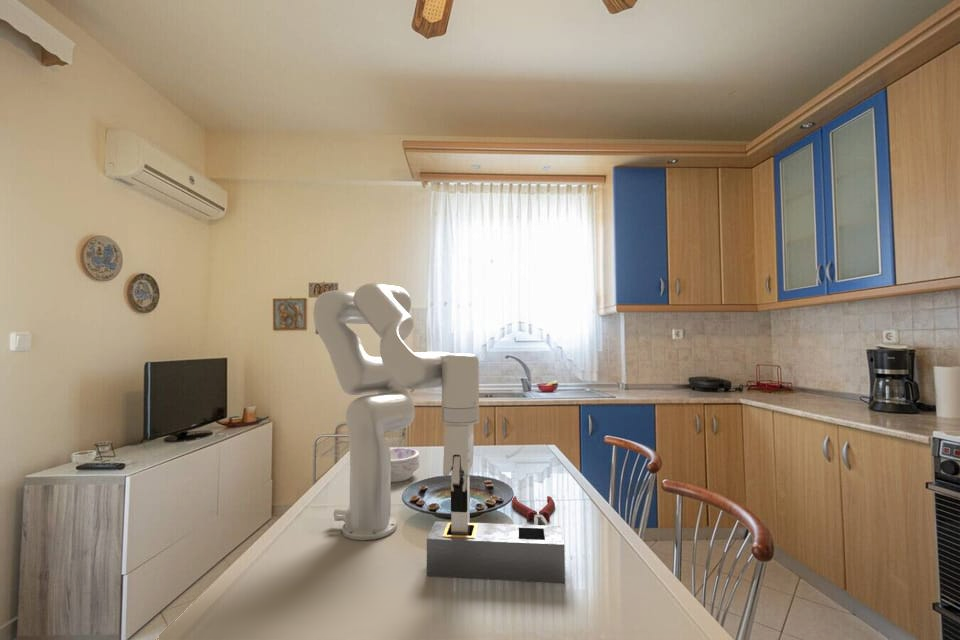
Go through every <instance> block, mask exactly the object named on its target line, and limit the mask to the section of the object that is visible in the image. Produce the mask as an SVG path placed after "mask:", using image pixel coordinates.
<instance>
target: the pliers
mask: <svg viewBox="0 0 960 640" xmlns="http://www.w3.org/2000/svg"><path fill="white" fill-rule="evenodd" d="M513 497H514V498H513ZM513 497H512V498H513V500H512V499H511V505H512V508H513V510H514V511H516V512H517V513H519V514H521V515H522V516H524V517H526V518H525V519H526V522H533V525H547V526H549V525H548V522H550V520H551V513H552V512H554V510H555V506H556V505H555V501H554V500H553V498H552V497H551V496H549V495H547V497H546V501H547V503H546V505H545V506H544V507H542V509H540V510H539V511H536V510H535V509H532V508H530V507H529V506H527V505H525V504H523V503H521V502H520V501H519V500H518V499H517V496H516V495H514V496H513Z"/></svg>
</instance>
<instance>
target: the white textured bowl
mask: <svg viewBox="0 0 960 640" xmlns="http://www.w3.org/2000/svg"><path fill="white" fill-rule="evenodd" d="M390 453H391V483H398V482H404V481H407V480H409V479H411V478H412V476H413V474H414V473H415V472H416V471H417V470H418V469H419V468H420V465H421V464H420V452H419V450H417V449H414V448H410V447H409V448H406V447H397V448H396V447H394V448H390Z"/></svg>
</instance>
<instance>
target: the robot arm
mask: <svg viewBox="0 0 960 640" xmlns="http://www.w3.org/2000/svg"><path fill="white" fill-rule="evenodd" d="M411 307H412V299H411V296H410V295H409V293H408V291H406V290H405V289H404V288H403V287H401V286H399V285H391V284H390V285H389V284H383V283H376V282H375V283H366V284H363V285H360V287H358V288H357V289H356V290H355V291H353V290H352V291H351V290H341V289H339V290H338V289H337V290H336V289H335V290H328V291H325V292H322V293H321V294H319V295H318V297H316V300H315V302H314V306H313V314H312V315H313V322H314V323H313V324H314V326H315V328H316V332H317V333H318V335H319V338H320V339H321V342H322V343H323V344H324V346H325V348H326V350H327V352H328V355H329V358H330V360H331V363H332V367H333V369H334V372H335V374H336V378H337V380H338V382H339V385H340V387H341V390H342V391H343V392H344V393H345V394H347V395H351V396H360V395H363V396H360V397H357V398H355V399H354V400H353V401H350V403H349V404H348V405H347V408H346V411H345V422H346V428H347V433H348V439H349V441H348V443H349V507H347V509H344V508H334V511H333V518H334V521H335V522H339V521H340V522H342V521H343V522H344V523H343V525H342V529H341V530H342V534H343V536H345V538H348V539H350V540H355V541H371V540H377V539H380V538H385V537H387V536H389V535H391V534H392V533H394V532H395V530H396V529H397V527H398V520H397V519H396V517H394V516H393V515H391V509H392V507H391V505H392V504H391V500H392V499H391V495H392V494H391V493H392V492H391V483H392V482H391V453H390V449H391V448H390V446H389V444H388V442H387V440H386V439H385V437H384V434H386V433H390V432H395V431H399V430H402V429H403V430H404V429H405V428H407V427H409V426H411V424H412V423H413V421H414V419H415V415H416V411H415V410H416V409H415V403H414V400H413V397H412V395H411V393H410V390H412V391H413V390H415V391H416V390H422V389H431V388H440V387H441V424H443V425H445V431H444V440H443V441H444V443H443V445H444V446H443V465H442V466H443V468H442V469H443V470H442V473H443V474H442V475H443V476H444V477H448V476H449V475H450V473H451V476H450V477H451V480H450V481H451V482H450V483H451V484H450V487H451V489H450V511H452V512H467V491H466V476H468V474H469V475H470V473H471V469H472V468H473V465H474V464H473V463H474V439H475V438H474V434H475V433H474V432H475V431H474V425H477V424H479V423H480V384H479V383H480V365H479V364H480V362H479V358H478V356H477V355H476V354H473V353H452V352H451V353H450V352H447V351H425V352H424V351H421V352H419V351H418V352H413V351H412V350H411V349H410V348H409V347H408V346H407V344H406V343H405V342H404V341H405V340H406V339H407V338H408V337H409V335H410V334H411V333H412V331H413V328H414V319H413V317H412V316H411V314H409V313H410V311H411ZM347 324H354V325H355V324H358V325H359V324H361V325H370V327H371V329H373V331H375V334H377V335H378V336H379V338H380V340H379V341H380V342H379V353H380V356H379V355H378V356H376V355H375V356H371V355H369V354H368V353H367V352H366V350H365V348H364V345H363V343H362V340H361V339H360V337H359V336H358V335H357V333H355V331H353V330H352V329H351V328H350V327H349V326H347ZM460 472H463V475H462V474H460ZM460 479H463V482H462V480H460ZM462 483H463V484H462Z"/></svg>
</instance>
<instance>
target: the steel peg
mask: <svg viewBox="0 0 960 640" xmlns="http://www.w3.org/2000/svg"><path fill="white" fill-rule="evenodd" d="M460 474H462V475H463V472H460ZM460 480H462V482H463V479H460ZM470 481H471V479H470V473H469V474H468V476H466V491H467V512H452V511H451V510H450V511H451V512H450V513H451V515H450V517H451V519H450V522H451V535H460V536H470V523H471V522H470V521H471V520H470V519H471V518H470V517H471V516H470V513H471V512H470V511H471V510H470V503H471V495H470V494H471V485H470V484H471V483H470ZM462 484H463V483H462Z"/></svg>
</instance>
